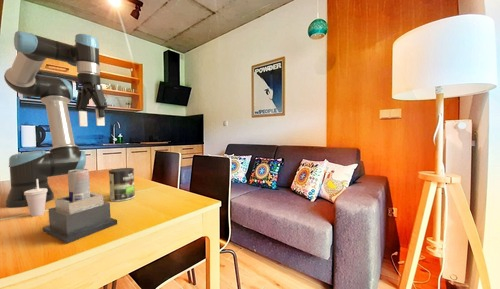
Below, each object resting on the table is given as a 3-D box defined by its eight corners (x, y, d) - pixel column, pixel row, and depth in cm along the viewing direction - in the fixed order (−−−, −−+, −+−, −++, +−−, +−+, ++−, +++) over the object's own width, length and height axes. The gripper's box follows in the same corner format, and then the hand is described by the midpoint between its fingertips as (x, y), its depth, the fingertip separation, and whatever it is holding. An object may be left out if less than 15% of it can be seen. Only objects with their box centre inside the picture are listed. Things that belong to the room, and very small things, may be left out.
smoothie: (53, 212, 82) (50, 178, 81) (31, 219, 76) (28, 181, 75) (43, 210, 84) (40, 177, 83) (21, 216, 78) (18, 180, 77)
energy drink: (78, 203, 70) (75, 168, 70) (94, 202, 71) (92, 168, 70) (65, 209, 65) (62, 171, 64) (83, 208, 65) (80, 171, 65)
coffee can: (139, 195, 103) (138, 167, 102) (123, 202, 93) (121, 171, 92) (122, 194, 105) (121, 167, 104) (104, 201, 95) (103, 171, 94)
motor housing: (43, 231, 66) (40, 199, 65) (92, 215, 78) (91, 188, 77) (66, 243, 58) (64, 207, 58) (117, 224, 71) (115, 194, 70)
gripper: (116, 72, 82) (118, 125, 84) (84, 80, 94) (86, 126, 95) (94, 67, 76) (98, 125, 77) (63, 76, 87) (66, 126, 88)
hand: (91, 126), depth 86 cm, fingers open, 13 cm apart
